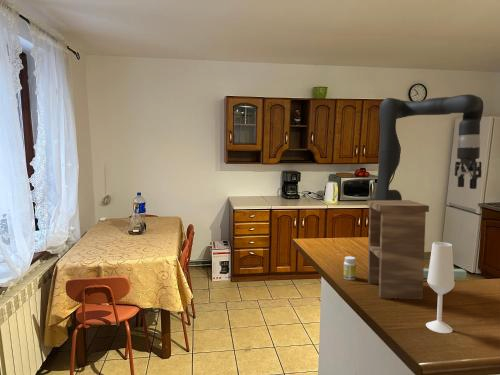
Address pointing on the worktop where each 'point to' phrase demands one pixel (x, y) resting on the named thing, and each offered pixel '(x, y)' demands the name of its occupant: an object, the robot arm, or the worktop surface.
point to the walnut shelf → (397, 247)
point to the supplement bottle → (349, 268)
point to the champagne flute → (441, 280)
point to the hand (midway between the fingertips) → (466, 187)
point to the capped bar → (457, 273)
